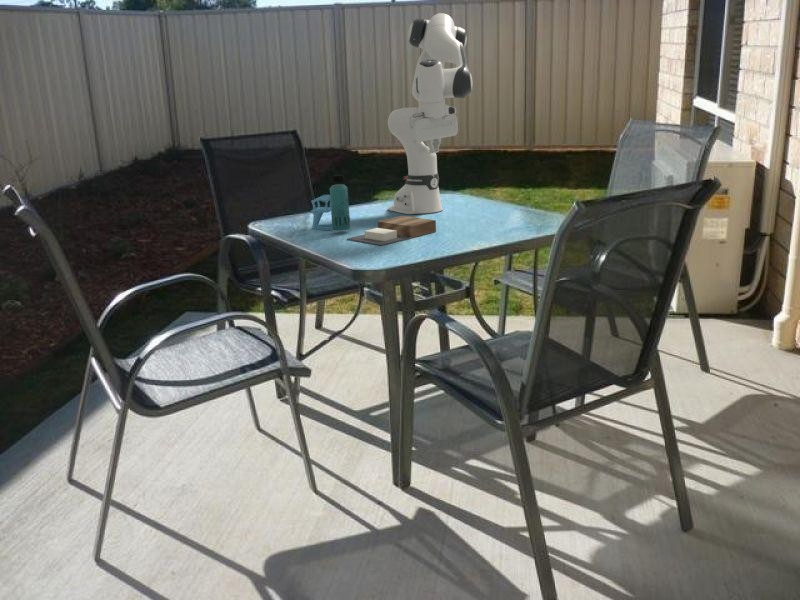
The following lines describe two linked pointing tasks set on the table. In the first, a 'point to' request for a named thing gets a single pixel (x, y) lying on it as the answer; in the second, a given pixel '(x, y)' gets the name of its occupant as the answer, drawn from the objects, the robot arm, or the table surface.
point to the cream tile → (380, 234)
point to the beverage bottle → (339, 204)
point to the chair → (321, 213)
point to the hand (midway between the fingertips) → (434, 152)
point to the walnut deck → (409, 226)
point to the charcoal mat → (378, 242)
